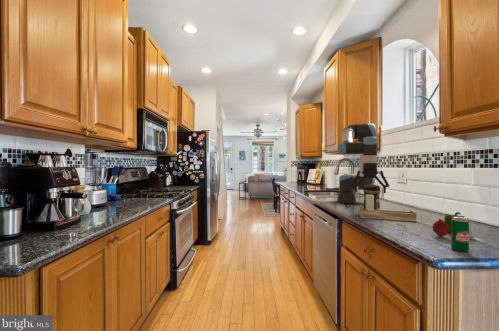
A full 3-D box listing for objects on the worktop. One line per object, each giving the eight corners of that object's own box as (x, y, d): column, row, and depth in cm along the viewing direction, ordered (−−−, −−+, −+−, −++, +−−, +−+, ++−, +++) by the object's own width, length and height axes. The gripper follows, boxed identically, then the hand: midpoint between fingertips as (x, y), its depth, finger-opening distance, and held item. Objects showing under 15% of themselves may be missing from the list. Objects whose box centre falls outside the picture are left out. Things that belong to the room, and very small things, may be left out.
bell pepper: (442, 229, 120) (443, 209, 120) (465, 232, 116) (465, 210, 116) (445, 233, 113) (445, 211, 113) (469, 236, 109) (469, 213, 109)
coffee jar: (360, 212, 161) (361, 184, 161) (368, 211, 165) (368, 183, 165) (374, 215, 153) (374, 185, 153) (382, 214, 157) (382, 184, 157)
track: (359, 214, 155) (359, 206, 155) (411, 218, 146) (411, 209, 146) (361, 218, 146) (361, 209, 146) (417, 221, 136) (417, 212, 136)
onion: (451, 237, 107) (451, 219, 107) (445, 239, 104) (445, 220, 104) (436, 234, 112) (436, 216, 112) (429, 236, 109) (429, 217, 109)
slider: (365, 211, 152) (365, 194, 152) (372, 212, 150) (373, 194, 150) (366, 213, 147) (366, 195, 147) (373, 213, 146) (374, 195, 146)
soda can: (456, 252, 89) (457, 218, 89) (447, 247, 94) (448, 215, 94) (472, 253, 88) (473, 219, 88) (462, 248, 93) (463, 216, 93)
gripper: (347, 162, 149) (347, 197, 149) (395, 162, 141) (394, 200, 141) (347, 162, 156) (347, 196, 156) (392, 162, 148) (392, 198, 148)
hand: (369, 198), depth 149 cm, fingers open, 13 cm apart
